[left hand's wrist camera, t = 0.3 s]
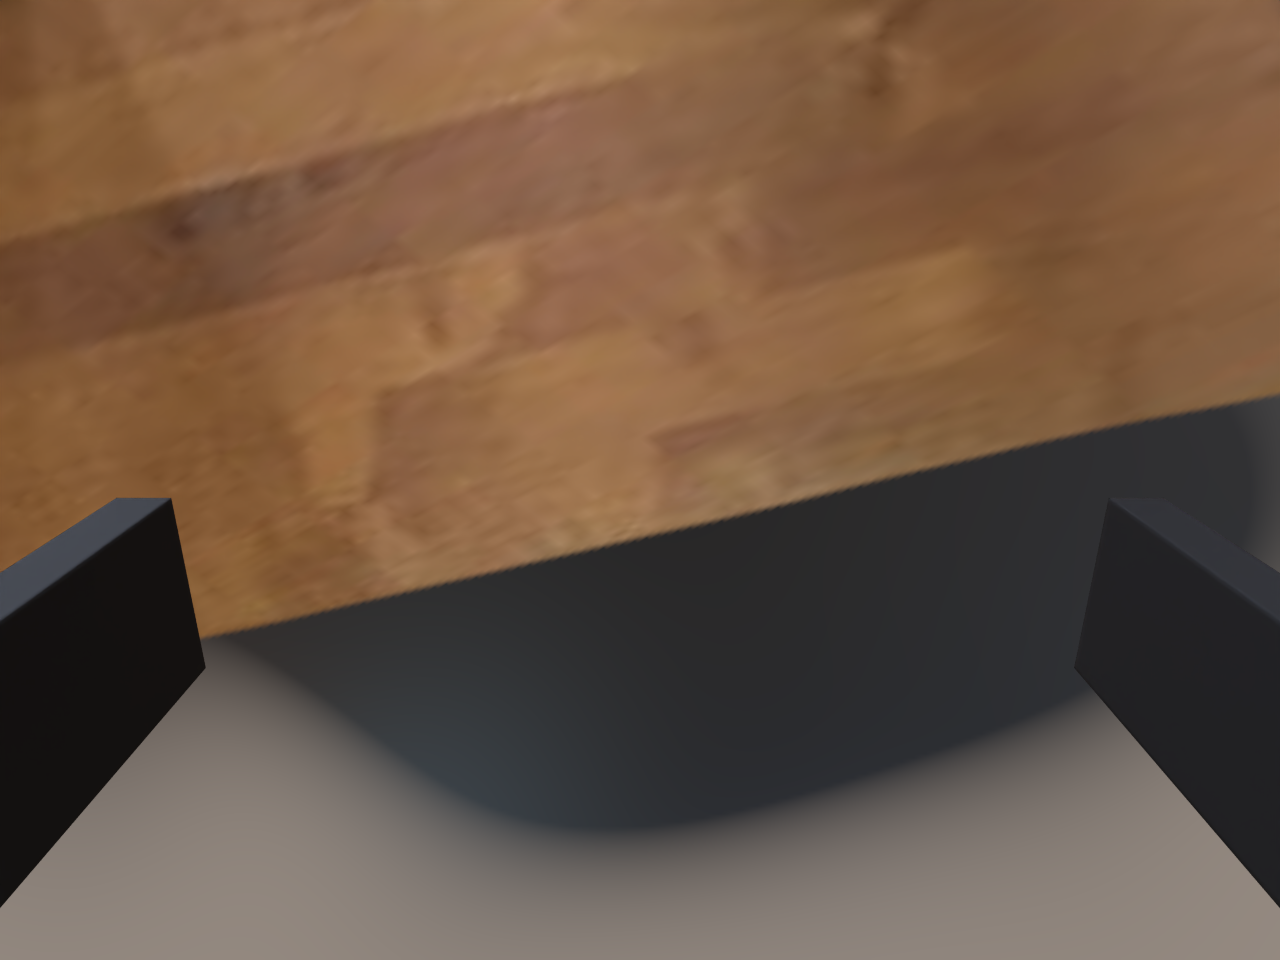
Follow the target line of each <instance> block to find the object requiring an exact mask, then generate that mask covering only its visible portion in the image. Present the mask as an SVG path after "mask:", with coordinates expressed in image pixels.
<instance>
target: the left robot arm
mask: <svg viewBox="0 0 1280 960" xmlns="http://www.w3.org/2000/svg"><path fill="white" fill-rule="evenodd" d="M1074 668H1075V669H1076V670H1077V671H1078V673H1079V674H1080V675H1081V676H1082V677H1083V679H1084V680H1085V681H1086V682H1087V683H1088V684H1089V686H1090V687H1091V688H1092V689H1093V690H1094V691H1095V693H1096V694H1097V695H1098V696H1099V697H1100V698H1101V699H1102V701H1103V702H1104V703H1105V704H1106V705H1107V707H1108V708H1109V709H1110V710H1111V711H1112V712H1113V714H1114V715H1115V716H1116V717H1117V718H1118V719H1119V721H1120V722H1121V723H1122V724H1123V725H1124V726H1125V728H1126V729H1127V730H1128V731H1129V732H1130V733H1131V735H1132V736H1133V737H1134V738H1135V739H1136V740H1137V742H1138V743H1139V744H1140V745H1141V746H1142V747H1143V749H1144V750H1145V751H1146V752H1147V753H1148V754H1149V756H1150V757H1151V758H1152V759H1153V760H1154V761H1155V763H1156V764H1157V765H1158V766H1159V767H1160V768H1161V770H1162V771H1163V772H1164V773H1165V774H1166V775H1167V777H1168V778H1169V779H1170V780H1171V781H1172V782H1173V784H1174V785H1175V786H1176V787H1177V788H1178V790H1179V791H1180V792H1181V793H1182V794H1183V795H1184V797H1185V798H1186V799H1187V800H1188V801H1189V802H1190V803H1191V805H1192V806H1193V807H1194V808H1195V809H1196V810H1197V812H1198V813H1199V814H1200V815H1201V816H1202V818H1203V819H1204V820H1205V821H1206V822H1207V823H1208V825H1209V826H1210V827H1211V828H1212V829H1213V830H1214V832H1215V833H1216V834H1217V835H1218V836H1219V837H1220V839H1221V840H1222V841H1223V842H1224V843H1225V844H1226V846H1227V847H1228V848H1229V849H1230V850H1231V851H1232V853H1233V854H1234V855H1235V856H1236V857H1237V858H1238V860H1239V861H1240V862H1241V863H1242V864H1243V865H1244V867H1245V868H1246V869H1247V870H1248V871H1249V872H1250V874H1251V875H1252V876H1253V877H1254V878H1255V879H1256V881H1257V882H1258V883H1259V884H1260V885H1261V886H1262V888H1263V889H1264V890H1265V891H1266V892H1267V893H1268V895H1269V896H1270V897H1271V898H1272V899H1273V900H1274V902H1275V903H1276V904H1277V905H1278V906H1279V907H1280V573H1279V572H1277V571H1276V570H1274V569H1273V568H1271V567H1270V566H1268V565H1267V564H1265V563H1263V562H1262V561H1260V560H1259V559H1257V558H1256V557H1254V556H1253V555H1251V554H1250V553H1248V552H1246V551H1245V550H1243V549H1242V548H1240V547H1239V546H1237V545H1236V544H1234V543H1232V542H1231V541H1229V540H1228V539H1226V538H1225V537H1223V536H1222V535H1220V534H1218V533H1217V532H1215V531H1214V530H1212V529H1211V528H1209V527H1208V526H1206V525H1204V524H1203V523H1201V522H1200V521H1198V520H1197V519H1195V518H1194V517H1192V516H1191V515H1189V514H1188V513H1186V512H1184V511H1183V510H1181V509H1180V508H1178V507H1177V506H1175V505H1174V504H1172V503H1170V502H1169V501H1167V500H1166V499H1164V498H1109V500H1108V505H1107V510H1106V515H1105V519H1104V524H1103V529H1102V534H1101V539H1100V544H1099V549H1098V554H1097V559H1096V564H1095V569H1094V574H1093V578H1092V583H1091V589H1090V593H1089V598H1088V603H1087V608H1086V613H1085V618H1084V623H1083V628H1082V633H1081V638H1080V643H1079V647H1078V652H1077V657H1076V662H1075V667H1074ZM204 669H205V662H204V657H203V652H202V648H201V642H200V638H199V633H198V628H197V623H196V618H195V613H194V608H193V603H192V598H191V593H190V588H189V583H188V578H187V574H186V569H185V564H184V559H183V554H182V549H181V544H180V539H179V534H178V529H177V524H176V519H175V514H174V510H173V505H172V500H171V498H116V499H114V500H113V501H111V502H110V503H108V504H106V505H105V506H103V507H102V508H100V509H99V510H97V511H96V512H94V513H92V514H91V515H89V516H88V517H86V518H85V519H83V520H82V521H80V522H79V523H77V524H75V525H74V526H72V527H71V528H69V529H68V530H66V531H65V532H63V533H61V534H60V535H58V536H57V537H55V538H54V539H52V540H51V541H49V542H48V543H46V544H44V545H43V546H41V547H40V548H38V549H37V550H35V551H34V552H32V553H30V554H29V555H27V556H26V557H24V558H23V559H21V560H20V561H18V562H17V563H15V564H13V565H12V566H10V567H9V568H7V569H6V570H4V571H3V572H1V573H0V907H1V906H2V905H3V904H4V903H5V902H6V900H7V899H8V898H9V897H10V896H11V895H12V893H13V892H14V891H15V890H16V889H17V888H18V886H19V885H20V884H21V883H22V882H23V881H24V879H25V878H26V877H27V876H28V875H29V874H30V872H31V871H32V870H33V869H34V868H35V867H36V865H37V864H38V863H39V862H40V861H41V860H42V858H43V857H44V856H45V855H46V854H47V853H48V851H49V850H50V849H51V848H52V847H53V846H54V844H55V843H56V842H57V841H58V840H59V839H60V837H61V836H62V835H63V834H64V833H65V832H66V830H67V829H68V828H69V827H70V826H71V824H72V823H73V822H74V821H75V820H76V819H77V818H78V816H79V815H80V814H81V813H82V812H83V810H84V809H85V808H86V807H87V806H88V805H89V804H90V802H91V801H92V800H93V799H94V798H95V796H96V795H97V794H98V793H99V792H100V791H101V790H102V788H103V787H104V786H105V785H106V784H107V782H108V781H109V780H110V779H111V778H112V777H113V775H114V774H115V773H116V772H117V771H118V770H119V768H120V767H121V766H122V765H123V764H124V763H125V761H126V760H127V759H128V758H129V757H130V756H131V754H132V753H133V752H134V751H135V750H136V749H137V747H138V746H139V745H140V744H141V743H142V742H143V740H144V739H145V738H146V737H147V736H148V735H149V733H150V732H151V731H152V730H153V729H154V728H155V726H156V725H157V724H158V723H159V722H160V721H161V719H162V718H163V717H164V716H165V715H166V714H167V712H168V711H169V710H170V709H171V708H172V707H173V705H174V704H175V703H176V702H177V701H178V700H179V698H180V697H181V696H182V695H183V694H184V693H185V691H186V690H187V689H188V688H189V687H190V685H191V684H192V683H193V682H194V681H195V680H196V679H197V677H198V676H199V675H200V674H201V673H202V671H203V670H204Z"/></svg>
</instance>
